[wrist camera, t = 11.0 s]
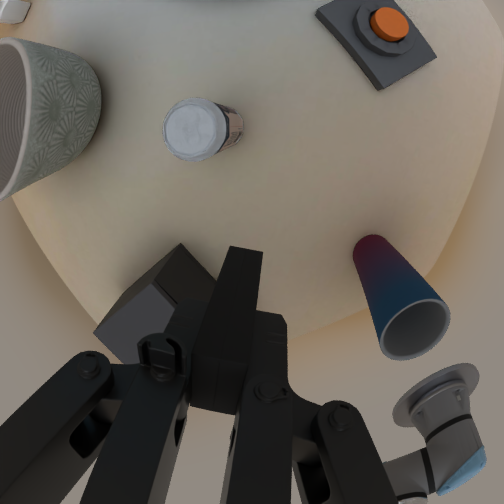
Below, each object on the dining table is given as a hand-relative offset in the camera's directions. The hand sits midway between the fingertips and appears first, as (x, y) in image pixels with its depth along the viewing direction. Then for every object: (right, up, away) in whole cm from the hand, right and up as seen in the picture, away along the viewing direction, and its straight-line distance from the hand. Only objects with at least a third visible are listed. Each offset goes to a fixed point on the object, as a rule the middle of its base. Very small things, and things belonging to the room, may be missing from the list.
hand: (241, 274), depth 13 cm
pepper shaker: (-38, +41, +6) cm, 56 cm away
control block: (+14, +25, +8) cm, 30 cm away
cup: (+15, +1, +20) cm, 25 cm away
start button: (+14, +23, +5) cm, 28 cm away
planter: (-23, +20, +15) cm, 34 cm away
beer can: (-3, +15, +15) cm, 21 cm away
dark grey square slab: (-10, -11, +18) cm, 23 cm away
